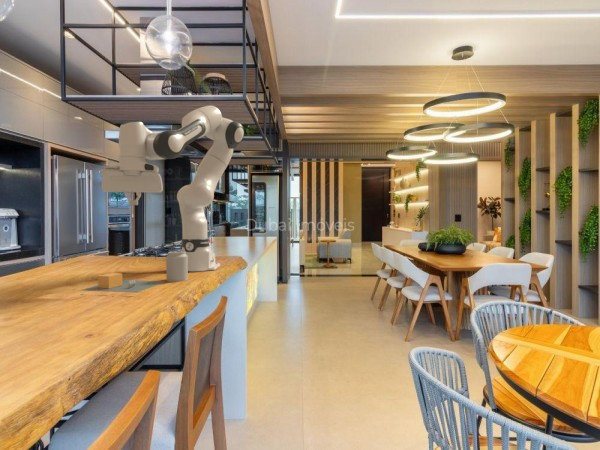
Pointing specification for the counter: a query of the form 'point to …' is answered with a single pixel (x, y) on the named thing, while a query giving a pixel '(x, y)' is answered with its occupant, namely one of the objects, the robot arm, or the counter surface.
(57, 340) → the counter surface
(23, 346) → the counter surface
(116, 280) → the orange rectangular block
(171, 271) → the can
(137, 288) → the header board
